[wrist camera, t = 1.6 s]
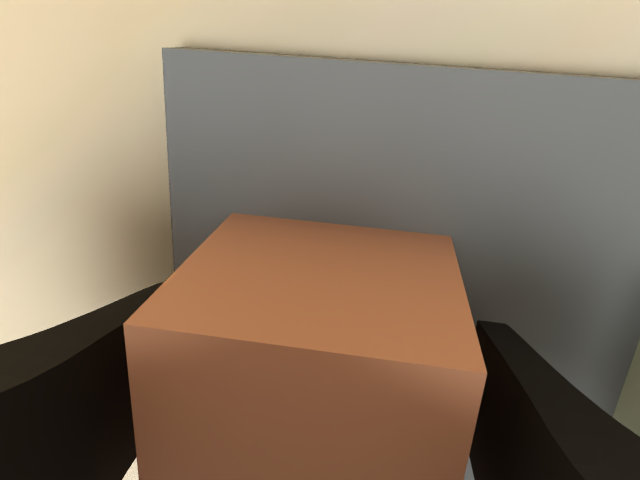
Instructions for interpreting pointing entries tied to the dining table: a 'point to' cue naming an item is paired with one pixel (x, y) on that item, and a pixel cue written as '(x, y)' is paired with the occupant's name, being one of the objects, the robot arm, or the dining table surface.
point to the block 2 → (630, 397)
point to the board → (433, 180)
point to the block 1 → (306, 357)
